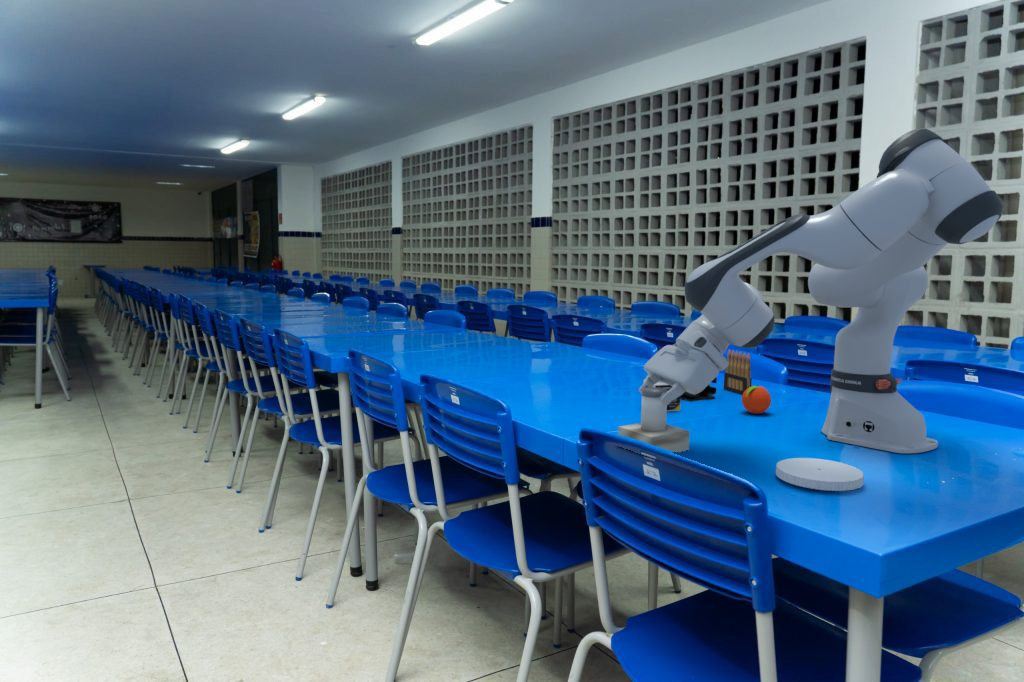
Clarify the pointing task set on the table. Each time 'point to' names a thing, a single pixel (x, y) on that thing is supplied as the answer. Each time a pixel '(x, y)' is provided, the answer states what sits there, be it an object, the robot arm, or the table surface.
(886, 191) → the robot arm
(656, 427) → the salt shaker
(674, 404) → the medicine bottle
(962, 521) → the table surface
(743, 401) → the clementine
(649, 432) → the plinth
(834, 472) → the plastic lid
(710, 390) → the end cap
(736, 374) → the ammunition clip
